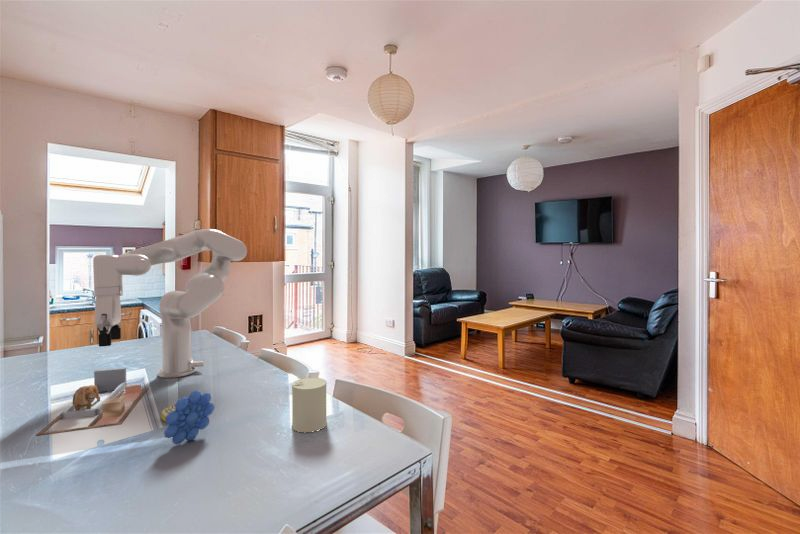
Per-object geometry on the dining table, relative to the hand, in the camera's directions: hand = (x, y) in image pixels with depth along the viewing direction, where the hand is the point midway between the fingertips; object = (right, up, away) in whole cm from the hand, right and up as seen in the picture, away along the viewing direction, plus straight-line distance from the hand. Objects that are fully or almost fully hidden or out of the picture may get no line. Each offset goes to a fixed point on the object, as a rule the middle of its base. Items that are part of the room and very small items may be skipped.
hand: (110, 342), depth 126 cm
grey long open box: (+4, -17, -11) cm, 20 cm away
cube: (+17, -16, -21) cm, 31 cm away
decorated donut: (+37, -17, -21) cm, 46 cm away
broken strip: (+15, -17, -15) cm, 27 cm away
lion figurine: (+7, -17, -17) cm, 25 cm away
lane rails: (+10, -17, -17) cm, 26 cm away
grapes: (+45, -18, -33) cm, 58 cm away
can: (+73, -18, -25) cm, 79 cm away
